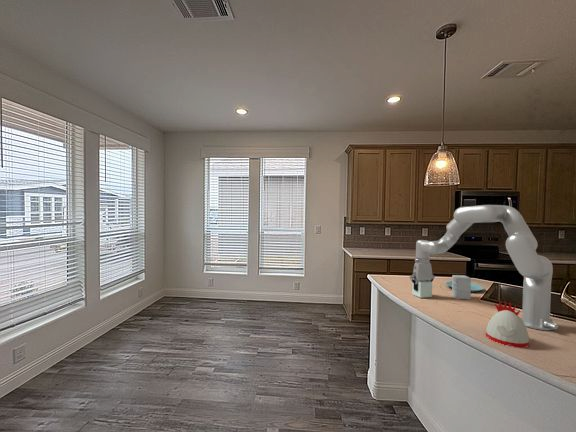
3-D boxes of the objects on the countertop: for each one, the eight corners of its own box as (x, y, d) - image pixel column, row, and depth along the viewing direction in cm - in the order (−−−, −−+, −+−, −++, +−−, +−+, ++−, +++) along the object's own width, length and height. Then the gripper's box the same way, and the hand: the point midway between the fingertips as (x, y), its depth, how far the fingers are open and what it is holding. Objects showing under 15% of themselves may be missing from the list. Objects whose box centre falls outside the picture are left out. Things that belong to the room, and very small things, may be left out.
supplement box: (464, 296, 178) (464, 275, 177) (470, 299, 170) (471, 278, 170) (451, 295, 178) (452, 274, 178) (457, 299, 171) (457, 277, 171)
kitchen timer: (487, 329, 127) (488, 295, 126) (529, 338, 118) (530, 301, 118) (484, 340, 116) (485, 302, 116) (529, 351, 107) (530, 310, 107)
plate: (492, 294, 183) (492, 290, 183) (455, 293, 184) (455, 288, 184) (472, 285, 205) (472, 281, 205) (439, 284, 206) (439, 280, 206)
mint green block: (431, 297, 172) (432, 282, 172) (420, 297, 171) (420, 282, 171) (423, 293, 180) (423, 279, 180) (412, 294, 178) (412, 279, 178)
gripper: (413, 262, 170) (412, 292, 170) (439, 261, 173) (439, 291, 174) (405, 260, 177) (405, 289, 177) (431, 259, 181) (430, 287, 181)
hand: (421, 289), depth 175 cm, fingers closed on mint green block, 7 cm apart
